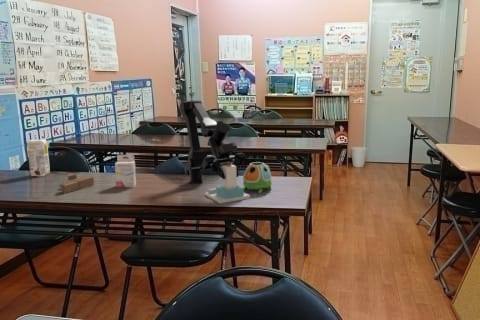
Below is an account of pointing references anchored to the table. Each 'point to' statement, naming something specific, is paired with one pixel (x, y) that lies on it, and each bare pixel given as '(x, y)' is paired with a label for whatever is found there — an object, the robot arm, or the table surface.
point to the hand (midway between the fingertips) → (231, 177)
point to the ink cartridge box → (125, 171)
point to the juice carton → (38, 157)
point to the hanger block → (229, 176)
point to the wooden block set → (76, 183)
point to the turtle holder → (257, 176)
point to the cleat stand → (226, 194)
